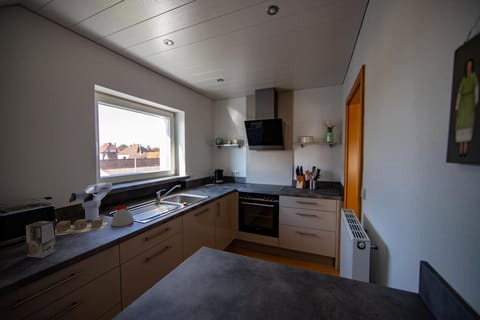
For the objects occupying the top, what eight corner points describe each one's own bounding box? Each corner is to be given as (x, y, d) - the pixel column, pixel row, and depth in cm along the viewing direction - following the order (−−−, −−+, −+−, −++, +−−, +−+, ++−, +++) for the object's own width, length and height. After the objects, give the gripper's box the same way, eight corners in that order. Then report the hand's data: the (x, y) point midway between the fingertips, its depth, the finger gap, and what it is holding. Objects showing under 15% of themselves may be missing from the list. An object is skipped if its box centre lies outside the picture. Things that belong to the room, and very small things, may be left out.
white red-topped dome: (113, 222, 135) (113, 202, 134) (134, 219, 141) (134, 201, 140) (109, 229, 122) (109, 208, 122) (132, 226, 128) (132, 206, 128)
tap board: (60, 227, 123) (60, 226, 123) (109, 222, 134) (109, 221, 134) (45, 238, 109) (45, 236, 109) (102, 231, 119) (102, 229, 119)
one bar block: (77, 227, 123) (77, 219, 123) (86, 226, 125) (86, 218, 124) (74, 230, 118) (74, 222, 118) (83, 229, 120) (83, 221, 120)
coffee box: (56, 251, 95) (56, 221, 95) (42, 258, 89) (41, 226, 88) (41, 249, 96) (40, 220, 95) (25, 256, 90) (25, 225, 89)
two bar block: (94, 225, 126) (94, 218, 126) (102, 224, 128) (102, 217, 128) (91, 228, 121) (91, 220, 121) (100, 227, 123) (100, 219, 123)
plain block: (60, 228, 119) (60, 221, 119) (70, 227, 121) (70, 220, 121) (56, 232, 115) (56, 224, 114) (66, 230, 117) (66, 223, 116)
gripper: (74, 187, 129) (63, 195, 116) (99, 188, 133) (90, 195, 121) (74, 197, 130) (63, 205, 117) (98, 197, 135) (90, 205, 122)
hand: (77, 201), depth 119 cm, fingers open, 7 cm apart
